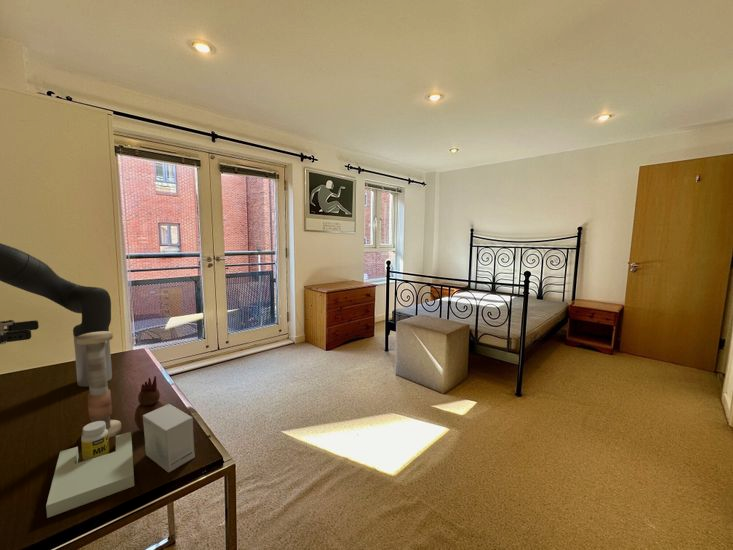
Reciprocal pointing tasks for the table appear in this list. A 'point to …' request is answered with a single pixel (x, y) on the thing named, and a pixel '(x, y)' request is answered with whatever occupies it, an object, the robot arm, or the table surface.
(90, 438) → the supplement bottle
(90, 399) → the bobbin post
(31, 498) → the table surface
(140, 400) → the wooden figurine
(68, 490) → the notched board
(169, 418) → the skincare box
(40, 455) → the table surface
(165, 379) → the table surface
